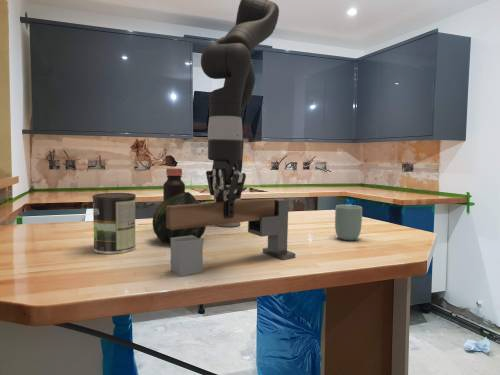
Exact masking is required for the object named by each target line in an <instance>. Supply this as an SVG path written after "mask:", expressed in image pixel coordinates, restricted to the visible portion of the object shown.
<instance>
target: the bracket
mask: <svg viewBox="0 0 500 375" xmlns="http://www.w3.org/2000/svg"><path fill="white" fill-rule="evenodd" d="M272 199H273V200H275V208H274V216H267V217H260V220H256V221H247V222H248V223H247V233H249V234H253V235H255V236H258V237H262V238H263V237H267V247H263V248H262V253H264V254H267V255H270V256H272V257H274V258H277V259H279V260H282V261H283V260H290V259H294V258H296V253H295V252H293V251H290V250H288V232H289V230H288V228H289V227H288V226H289V199H285V198H280V197H279V198H278V197H277V198H272Z"/></svg>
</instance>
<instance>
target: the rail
mask: <svg viewBox="0 0 500 375" xmlns="http://www.w3.org/2000/svg"><path fill="white" fill-rule="evenodd" d="M273 199H274V198H257V199H256V198H255V199H253V198H252V199H241V200H239V201H234V217H233V218H224V202H214V201H213V202H202V203H200V202H199V204H185V205H172V206H166V228H168V229H171V230H177V229H186V228H195V227H203V226H206V227H209V226H217V225H221V224H229V223H238V222H241V223H243V222H244V223H246V222H248V221H256V220H260V217H267V216H274V208H275V200H273Z"/></svg>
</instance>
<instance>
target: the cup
mask: <svg viewBox="0 0 500 375" xmlns="http://www.w3.org/2000/svg"><path fill="white" fill-rule="evenodd" d="M334 214H335V215H334V229H335V234H336V236H337V238H339V239H340V240H343V241H355V240H357V239H359V237H360V235H361V231H362V221H363V207H362V206H361V205H357V204H336V205H335V210H334Z"/></svg>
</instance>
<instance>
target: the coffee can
mask: <svg viewBox="0 0 500 375" xmlns="http://www.w3.org/2000/svg"><path fill="white" fill-rule="evenodd" d="M92 202H93V203H92V204H93V205H92V207H93V208H92V209H93V210H92V211H93V212H92V213H93V251H94V253H96V254H100V255H118V254H119V255H121V254H125V253H129V252H132V251H134V250H136V247H137V246H136V194H134V193H129V192H103V193H96V194H93V195H92Z"/></svg>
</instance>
